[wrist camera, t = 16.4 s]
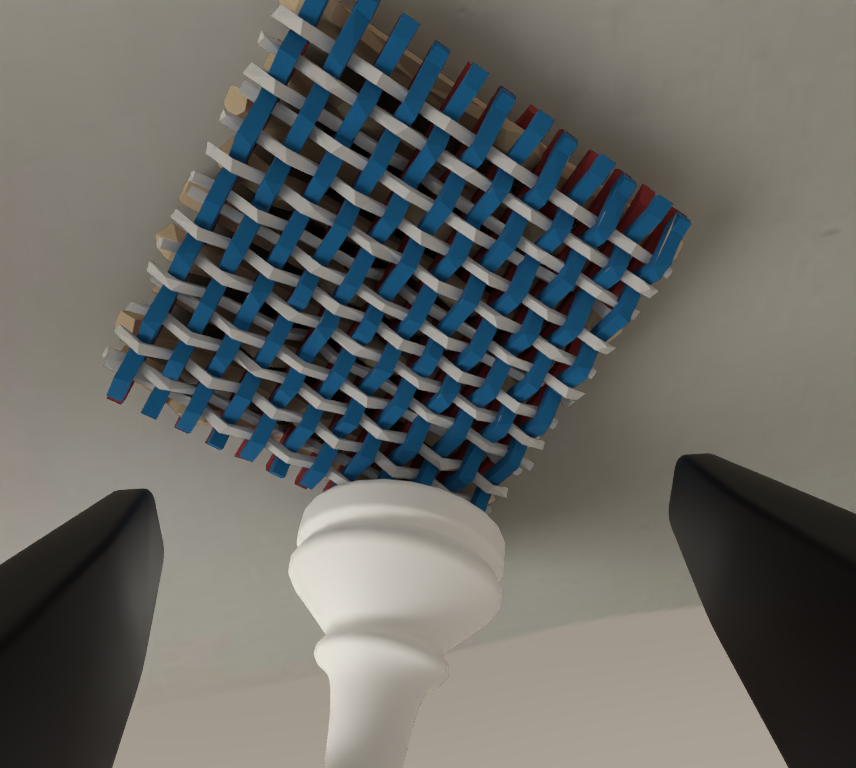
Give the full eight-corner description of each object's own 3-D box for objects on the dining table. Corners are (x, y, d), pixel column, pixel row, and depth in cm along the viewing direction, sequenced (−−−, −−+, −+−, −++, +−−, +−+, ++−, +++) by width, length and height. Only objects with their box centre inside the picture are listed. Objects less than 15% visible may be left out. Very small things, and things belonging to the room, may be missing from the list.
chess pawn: (497, 476, 15) (448, 1044, 10) (514, 584, 19) (486, 1041, 13) (276, 472, 16) (111, 981, 11) (333, 575, 20) (234, 994, 14)
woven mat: (93, 370, 18) (62, 407, 16) (302, -56, 14) (294, -73, 12) (450, 537, 21) (460, 584, 19) (688, 217, 17) (728, 237, 16)
